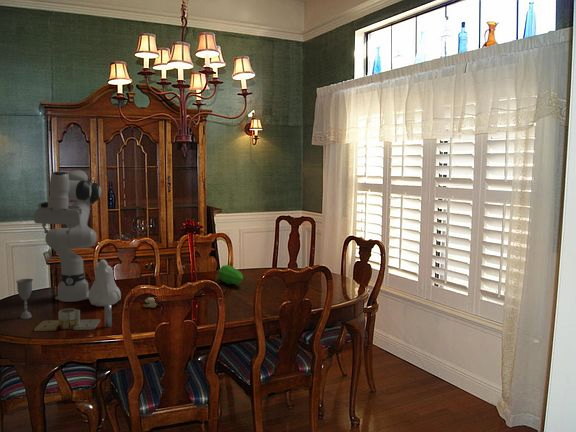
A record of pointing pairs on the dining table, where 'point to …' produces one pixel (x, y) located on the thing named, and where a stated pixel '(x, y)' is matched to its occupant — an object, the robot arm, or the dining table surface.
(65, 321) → the hinge
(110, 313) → the pin
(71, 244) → the robot arm
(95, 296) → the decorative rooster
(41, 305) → the dining table surface
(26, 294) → the chalice
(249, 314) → the dining table surface
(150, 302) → the cat figure
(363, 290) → the dining table surface
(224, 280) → the green ridged rounded cylinder
